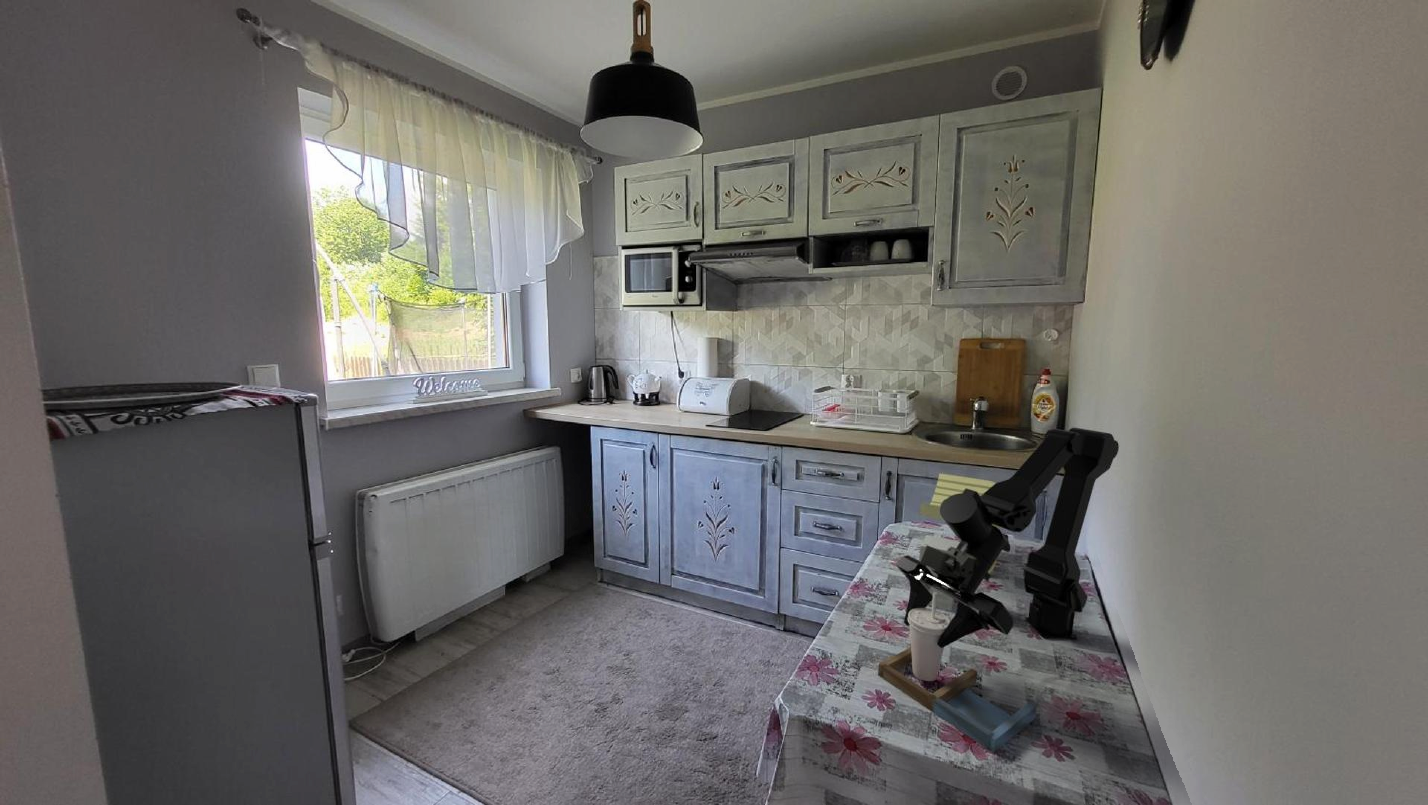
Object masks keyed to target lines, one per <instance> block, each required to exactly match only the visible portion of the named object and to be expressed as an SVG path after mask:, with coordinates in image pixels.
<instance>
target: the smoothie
mask: <svg viewBox="0 0 1428 805" xmlns="http://www.w3.org/2000/svg"><path fill="white" fill-rule="evenodd" d="M936 599H937V593H936V592H933V601H932V606H931V608H927V607H926V608H915V609H912V610H911V611H910V612H909V613H908V622H909V624H910V625H909V633H910V634H909V635H910V647H911V652H912V663H911V666H912V673H913V675H914V676H915V677H916V678H918V679H920V680H922V681H925V682H934V681H935V680H937V678H938V674H939V671H940V670H939V669H940V666H941V663H942V662H941V661H942V659H943V654H944V649H945V647H943V648H940V647H939V646H938V645H937V643H938V641H939V639H940V637H941V635H942V634H943V632H944V631H945V629H946V628H947V626H948V625H949V623H950V622H951V620H950V618H949V617H948V616H947V615H945V614H944V613H942V612H940V611H938V610H936V609H937V608H936Z"/></svg>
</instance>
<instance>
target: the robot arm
mask: <svg viewBox="0 0 1428 805" xmlns="http://www.w3.org/2000/svg"><path fill="white" fill-rule="evenodd" d="M1119 448H1120V444H1119V442H1118V440H1116V439H1115V438H1114V435H1113V434H1112V433H1110V432H1103V431H1098V430H1094V429H1085V428H1080V427H1071V428H1070V429H1068V430H1064V429H1059V428H1052V429H1048V430H1047V431H1046V433H1045V434H1044V437H1043V440H1042V441H1041V443H1040V444H1039V445H1038V446H1037V447H1036V449H1035V450H1033V452H1032V453H1031V454H1030V455H1029V456H1028V458H1027V459H1026V460H1025V461H1024V462H1023V463H1022V465H1021V466H1020V467H1019V468H1018V469H1017V470H1016V471H1015V472H1014V473H1013V475H1012V476H1011V477H1010V478H1008V479H1004V480H1002V481H998V482H995V483H996V484H994V485H993V486H992V487H991V488H990V489H988V490H987V491H986V492H985V493H984V494H983V495H981V496H979V494H978V493H977V491H973V490H970V489H967V488H966V489H965V490H964V491H963V493H959V494H955V495H952V496H950V497H948V498H947V499H945V500H944V501H943V502H942V504H941V506H940V514H941V516H942V518H943V519H944V520H943V521H944V522H945V523H946V525H948V527H949V528H950V530H951V531H952V532H953V534H954V535H955V536H956V537H957V538H958V539H959V540H960V541H959V542H960V543H959V544H958V546H957V547H956V548H954V547H950V548H948V549H947V551H946V552H943V551H941V550H938V549H936V548H933V547H930V546H928V545H927V546H926V549H925V552H924V554H923V557H922V559H921V562H920V561H919V559H916V558H914V557H913V556H910V555H908V554H907V555H904V556H901V557H900V558H899V560H898V561H897V563H896V564H895V566H896V567H897V568H898V569H899V571H900V572H901V573H902V574H903V575H904V576H905V578H906V579H907V580H908V582H909V588H910V589H909V598H908V602H907V607H906V611H905V616H904V620H903V623H904V625H905V626H907V627H910V624H909V622H908V613H909V612H910V611H911V610H912V609H915V608H927V607H928V606H929V605H928V604H929V603H930V602H931V601H932V600H933V596H932V594H931V593H930V592H929V590H930V588H931V587H933V588H935V589H937V590H939V591H941V592H943V593H944V594H946V595H948V596H950V597H952V598H954V599H955V600H954V601H957V606H956V609H955V610H956V611H955V615H954V616H953V617H952V619H951V620H950V623H949V625H948V626H947V628H946V629H945V631H944V632H943V634H942V635H941V637H940V639H939V641H938V643H937V645H938V646H939V647H940V648H943V647H944V648H945V647H946V646H949V645H950V644H952V643H954V642H956V641H958V640H960V639H962V638H965V637H966V636H969V635H970V634H973V633H975V632H978V631H980V630H985V631H989V630H990V627H991V628H993V629H994V630H996V631H998V632H1000V633H1001V634H1003V635H1006V636H1008V635H1009V634H1010V632H1011V631H1012V629H1013V627H1014V624H1015V623H1014V620H1015V619H1014V617H1013V615H1012V614H1011V612H1009V610H1008V609H1007V607H1006V606H1005V605H1004V604H1003V602H1002V601H999V600H998V599H996V598H994V597H992V596H989V595H987V593H984V592H983V591H980V592H978V593H977V592H976V591H977V590H978V588H979V587H980V585H981V584H982V582H983V581H986V582H989V580H990V579H991V577H992V576H991V575H990V573H988V571H989V570H990V568H991V567H992V565H993V563H994V562H995V560H996V561H997V560H998V557H999V556H1000V555H1001V553H1002V551H1005V552H1007V553H1010V552H1011V544H1010V541H1009V535H1008V534H1007V533H1003V532H1002V531H1001V528H1002V529H1004V530H1008V531H1010V532H1012V533H1022V532H1023V531H1024V530H1026V529H1027V528H1028V527H1029V526H1030V525H1031V523H1032V520H1033V518H1034V516H1035V515H1036V514H1037V500H1038V498H1039V496H1041V494H1042V493H1043V491H1044V490H1045V489H1046V488H1047V487H1048V485H1049V484H1050V483H1051V482H1052V481H1053V479H1054V478H1055V477H1056V476H1057V475H1058V473H1060V471H1061V470H1062V469H1063V471H1064V473H1063V476H1062V480H1061V483H1060V486H1059V487H1060V488H1059V491H1058V495H1057V499H1056V501H1055V505H1054V509H1053V513H1052V516H1051V521H1050V522H1049V528H1048V531H1047V534H1046V538H1045V541H1044V544H1043V545H1042V546H1041V547H1040V548H1039V549H1037V550H1036V551H1033V550H1032V551H1031V552H1030V553H1029V554H1028V556H1027V557H1028V558H1027V562H1026V565H1025V567H1024V569H1023V582H1024V589H1025V592H1026V593H1027V594H1030V595H1032V601H1031V602H1030V603H1029V608H1028V609H1029V610H1028V616H1025V618H1024V621H1025V622H1027V624H1029V626H1031V627H1032V628H1033V630H1035V631H1036V632H1037V633H1038V634H1039V636H1040V637H1042V638H1044V639H1057V640H1058V639H1059V640H1078V638H1079V636H1078V635H1077V634H1076V633H1075V632H1074V631H1073V630H1074V629H1073V628H1074V621H1075V615H1076V612H1077V613H1082V612H1083V610H1084V608H1085V606H1086V604H1087V600H1088V595H1087V593H1086V592H1085V590H1084V589H1083V587H1082V586H1081V584H1080V578H1081V569H1080V566H1079V563H1078V561H1077V558H1076V551H1077V547H1078V543H1079V540H1080V536H1081V533H1082V528H1083V526H1084V522H1085V518H1086V515H1087V511H1088V508H1089V504H1090V500H1091V498H1092V493H1093V489H1094V486H1095V482H1096V480H1098V479H1099V478H1100V477H1101V476H1103V475H1104V474H1105V473H1106V472H1107V471H1109V470H1110V469H1111V467H1112V464H1113V461H1114V460H1115V458H1116V457H1117V456H1118V453H1119ZM992 524H993V525H996V526H999V527H1000V530H999V529H998V528H997V527H995V526H993V525H992ZM926 566H929V567H931V569H932V571H933V572H934V573H936V574H937V575H938V576H935V575H933V574H932V573H931V572H930V570H929V569H928V568H927V567H926ZM942 585H943V586H945V587H947V588H948V589H947V588H945V587H943V586H942ZM955 592H956V593H955Z"/></svg>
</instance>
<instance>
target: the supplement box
mask: <svg viewBox="0 0 1428 805" xmlns="http://www.w3.org/2000/svg"><path fill="white" fill-rule="evenodd" d="M923 538H924V539H923V540H922V542H921V544H920V545H919V554H918V555H919V556H918V561H920V562H921V559H922V557H923V554H924V552H925V549H926V546H927V545H928V546H930V547H933V548H936V549H938V550H941V551H943V552H946V551H947V549H948V548H950V547H954V548H956V547H957V546H958V544H959V543H960V541H958V540H953V539H950V538H946V537H945V538H944V537H938V536H935V535H930V534H929V535H928V534H926V535H925V537H923ZM926 567H927V568H928V569H929V570H930V572H931V573H932V574H933V575H935V576H938V575H937V574H936V573H934V572H933V571H932V569H931V567H929V566H926ZM942 586H943V585H942ZM943 587H945V586H943ZM945 588H947V587H945ZM947 589H948V588H947ZM929 592H930V593H931V594H932V596H933V592H936V593H937V599H936V609H940V610H943V611H947V610H948V612H952V611H953V606H954V603H955V601H956V600H955V599H954V598H952V597H950V596H948V595H946V594H944V593H943V592H941V591H939V590H937V589H935V588H933V587H931V588H930V590H929ZM955 593H956V592H955ZM956 594H957V593H956ZM932 601H933V600H932ZM932 601H931V602H930V603H929V604H928V605H927V606H931V607H932Z"/></svg>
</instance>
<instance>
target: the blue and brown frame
mask: <svg viewBox="0 0 1428 805" xmlns="http://www.w3.org/2000/svg"><path fill="white" fill-rule="evenodd" d="M910 664H912V652H911V646H910V647H908V648H906V649H904V650H902V651H900V652H899V653H896V654H895V655H893V656H891V657H890V658H887V659H885V660H884V661H881V662H880V663H878V671H877V675H878V677H879V678H882V679H883V680H884V681H886V682H887V683H888V684H890V685H892V686H894V687H895V688H896V689H898V690H899V691H901V692H902V693H904V694H905V695H906V696H908V697H910V698H911V699H912V700H914V701H916V703H918V704H920V705H921V706H923V707H925V708H926V709H927V710H929V711H931V713H933V714H935V715H936V716H938V718H941V719H943V720H944V721H945V722H947V723H948V724H950V725H951V726H953V727H954V728H956V729H957V730H958V731H960V732H961V733H963V734H965V735H966V736H968V737H969V738H971V739H972V740H973V741H975V742H976V743H977V744H979V745H980V746H982V747H984V748H985V749H987V750H988V751H990V752H991V753H993V754H995V753H996V752H997V751H999V749H1000V748H1003V746H1004V745H1005V744H1007V743H1008V742H1010V740H1012V739H1013V737H1015V736H1016V735H1017V734H1018V733H1019V732H1021V731H1022V730H1023V729H1024V728H1025V727H1027V726H1028V725H1029V724H1030V723H1032V721H1034V720H1035V719H1036V718H1037V710H1038V705H1037V704H1036V703H1034V702H1032V701H1028V702H1027V703H1026V704H1025V705H1024V706H1023V707H1020V709H1018V711H1016V712H1014V713H1013V714H1012V715H1011V714H1010V713H1008V712H1006V711H1004V710H1003V709H1002V708H1000V707H997V705H994V704H992V702H990V701H988V700H986V699H984V698H982V697H981V696H979V695H978V694H976V693H974V692H972V691H971V690H970V688H971V687H973V686H975V685H976V684H977V683H978V682H977V681H978V673H979V672H978V671H977V670H975V669H973V668H970V669H969V670H966V671H965V672H964V673H962V674H961V675H959V676H958V677H956V678H954V679H953V680H952V681H949V682H948V683H947V684H945V685H943V686H942V687H940V688H939V689H937V690H935V691H934V692H933V693H932V692H930V691H928V690H927V689H926V688H924V687H923V686H921V685H919V684H917V682H915V681H913V680H912V679H910V678H909V677H907V676H906V675H904V674H902V673H900V672H899V670H901V669H902V668H904V667H906V666H908V665H910Z"/></svg>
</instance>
